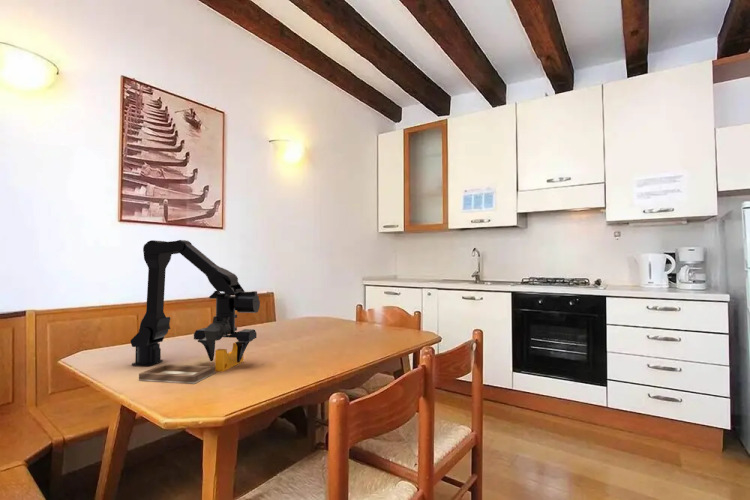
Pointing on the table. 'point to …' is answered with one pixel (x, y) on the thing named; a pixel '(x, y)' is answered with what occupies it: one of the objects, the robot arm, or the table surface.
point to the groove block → (177, 373)
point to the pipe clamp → (226, 358)
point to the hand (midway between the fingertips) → (225, 361)
